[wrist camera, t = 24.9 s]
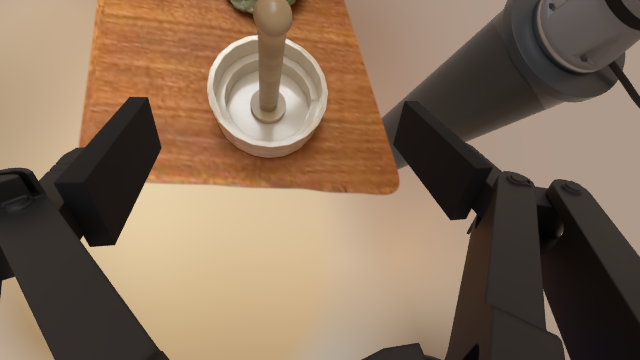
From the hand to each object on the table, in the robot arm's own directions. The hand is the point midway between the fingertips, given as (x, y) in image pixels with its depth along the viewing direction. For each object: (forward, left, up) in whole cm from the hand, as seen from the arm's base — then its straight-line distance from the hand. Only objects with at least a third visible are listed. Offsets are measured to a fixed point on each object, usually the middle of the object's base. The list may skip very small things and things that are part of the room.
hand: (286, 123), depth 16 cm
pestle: (+9, -4, -21) cm, 23 cm away
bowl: (+9, -4, -22) cm, 24 cm away
